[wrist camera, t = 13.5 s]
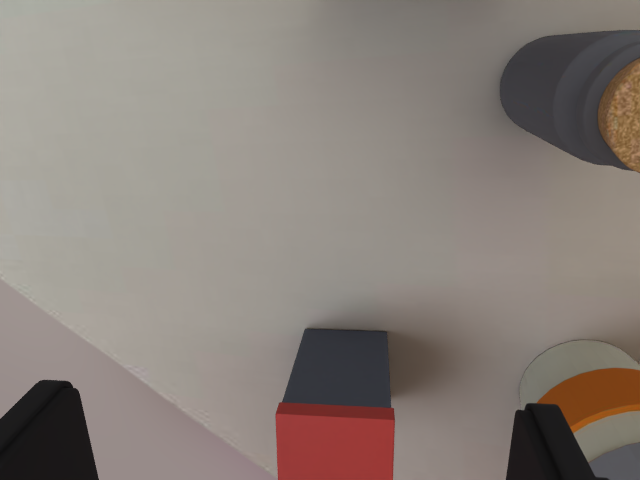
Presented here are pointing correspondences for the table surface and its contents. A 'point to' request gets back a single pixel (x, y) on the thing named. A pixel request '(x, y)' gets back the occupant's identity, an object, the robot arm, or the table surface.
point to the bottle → (579, 94)
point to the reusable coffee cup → (592, 401)
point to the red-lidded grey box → (337, 409)
